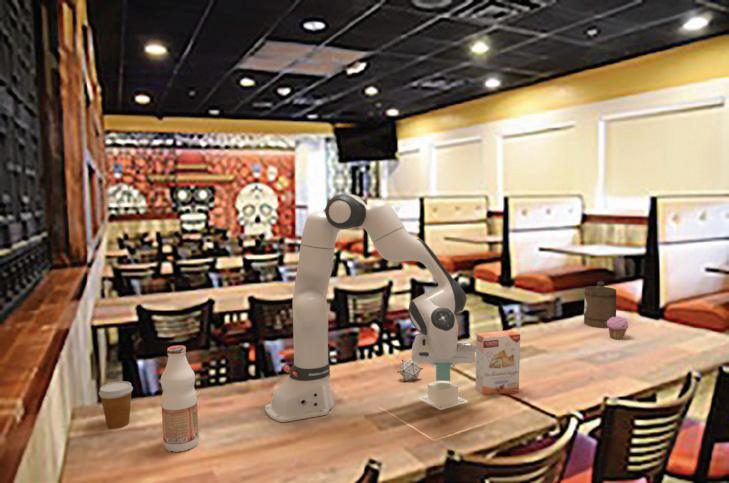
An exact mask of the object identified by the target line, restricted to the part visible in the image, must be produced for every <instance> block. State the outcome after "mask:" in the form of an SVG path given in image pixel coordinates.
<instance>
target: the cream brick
mask: <svg viewBox="0 0 729 483" xmlns="http://www.w3.org/2000/svg"><path fill="white" fill-rule="evenodd" d="M427 395H428V399H430V400H432V401H433V402H435V403H437V404H439V405H445V404H449V403H452V402H456V401H458V397H459V386H458V385H457V384H454V383H452V382H451V381H434V382H431V383H427Z"/></svg>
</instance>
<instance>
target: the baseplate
mask: <svg viewBox="0 0 729 483" xmlns="http://www.w3.org/2000/svg"><path fill="white" fill-rule="evenodd" d="M417 399H419V400H421V401H422V402H424V403H426V404H428V405H430V406H432V407H434V408H436V409H437V410H439V411H443V410H446V409H448V408H449V409H450V408H452V407H456V406H458V405H463V404H466V403H469V402H470V401H468V400H467V399H465V398H462V397H460V396H458V401H456V402H452V403H449V404H445V405H439V404H437V403H435V402H433V401H432V400H430V399H428V394H426V395H423V396H419V397H417Z"/></svg>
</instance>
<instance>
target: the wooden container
mask: <svg viewBox="0 0 729 483" xmlns="http://www.w3.org/2000/svg"><path fill="white" fill-rule="evenodd" d="M596 283H597V284H596V286H595V285H594V286H587V287H585V288H584V303H583V304H584V305H583V308H584V309H583V324H585V325H586V326H589V327H592V328H599V329H600V328H603V329H605V328H606V329H609V327H608V326H607V321H608V320H609V319H610V318H611V317H617V289H616V288H613V287H605V282H603V281H602V280H599V281H597V282H596Z"/></svg>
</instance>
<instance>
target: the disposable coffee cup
mask: <svg viewBox="0 0 729 483" xmlns="http://www.w3.org/2000/svg"><path fill="white" fill-rule="evenodd" d="M133 390H134V387H133V386H132V383H131V382H130V381H114V382H109V383H106V384H104V385H102V386H101V387H100V388H99V392H98V395H99V397H100V399H101V400H100V401H101V404H102V409H103V414H104V418H105V423H106V427H107V428H108V427H109V428H108V429H120V428H124V427H125V426H128V425H129V423H130V416H131V404H132V403H131V401H132V392H133ZM123 426H124V427H123Z"/></svg>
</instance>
